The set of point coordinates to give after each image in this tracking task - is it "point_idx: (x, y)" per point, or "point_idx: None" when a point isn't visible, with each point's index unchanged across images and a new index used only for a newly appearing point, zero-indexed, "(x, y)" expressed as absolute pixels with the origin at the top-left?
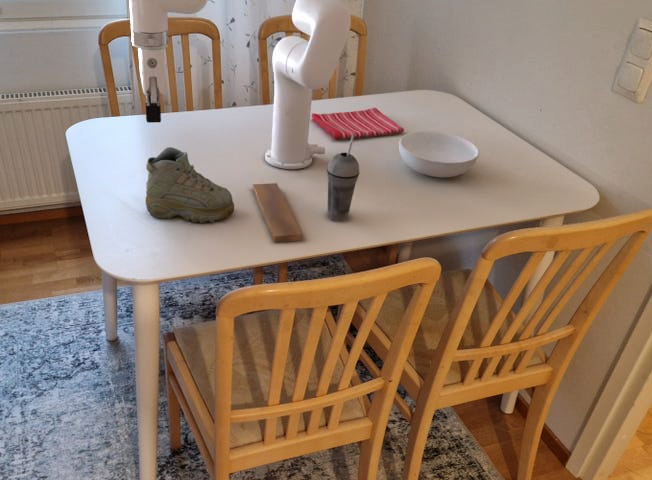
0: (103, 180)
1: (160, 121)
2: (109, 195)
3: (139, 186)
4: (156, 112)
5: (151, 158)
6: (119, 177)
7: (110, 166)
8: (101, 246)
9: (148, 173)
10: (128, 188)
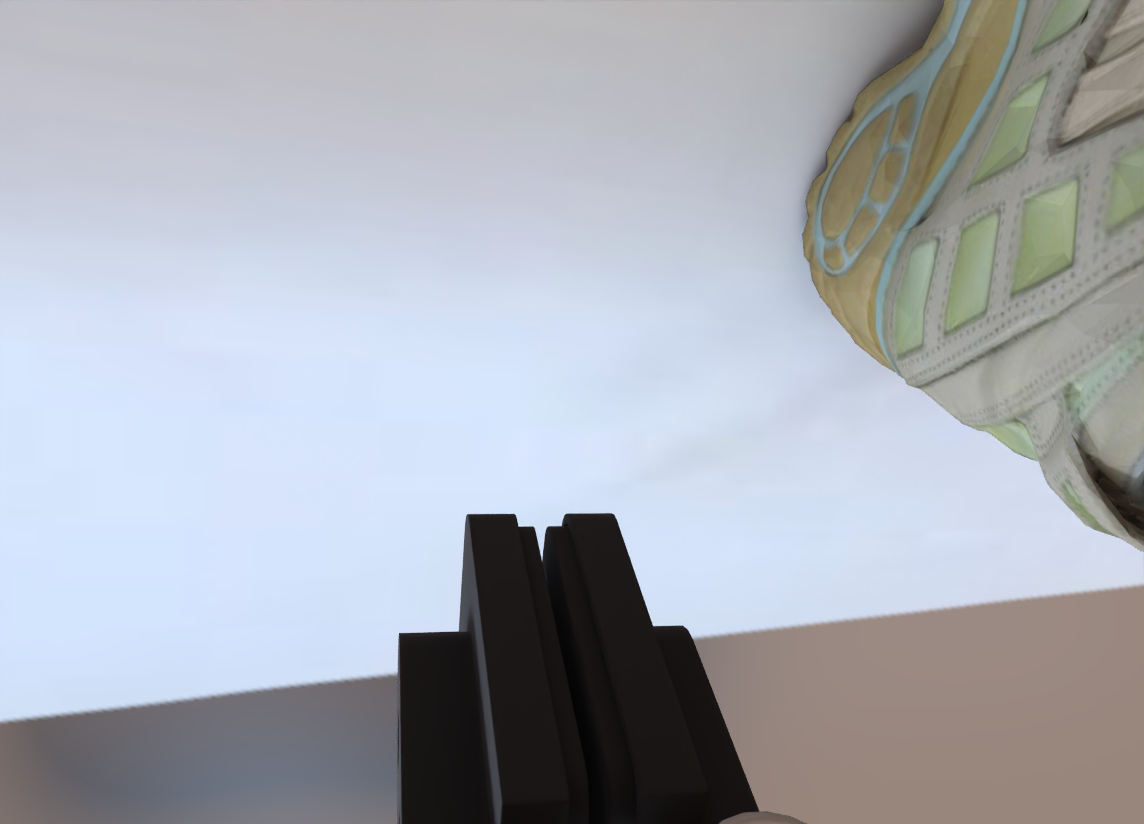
0: (287, 582)
1: (610, 518)
2: (543, 544)
3: (432, 339)
4: (722, 739)
5: (1117, 514)
6: (240, 477)
7: (9, 538)
8: (1130, 579)
9: (1035, 460)
10: (454, 421)
